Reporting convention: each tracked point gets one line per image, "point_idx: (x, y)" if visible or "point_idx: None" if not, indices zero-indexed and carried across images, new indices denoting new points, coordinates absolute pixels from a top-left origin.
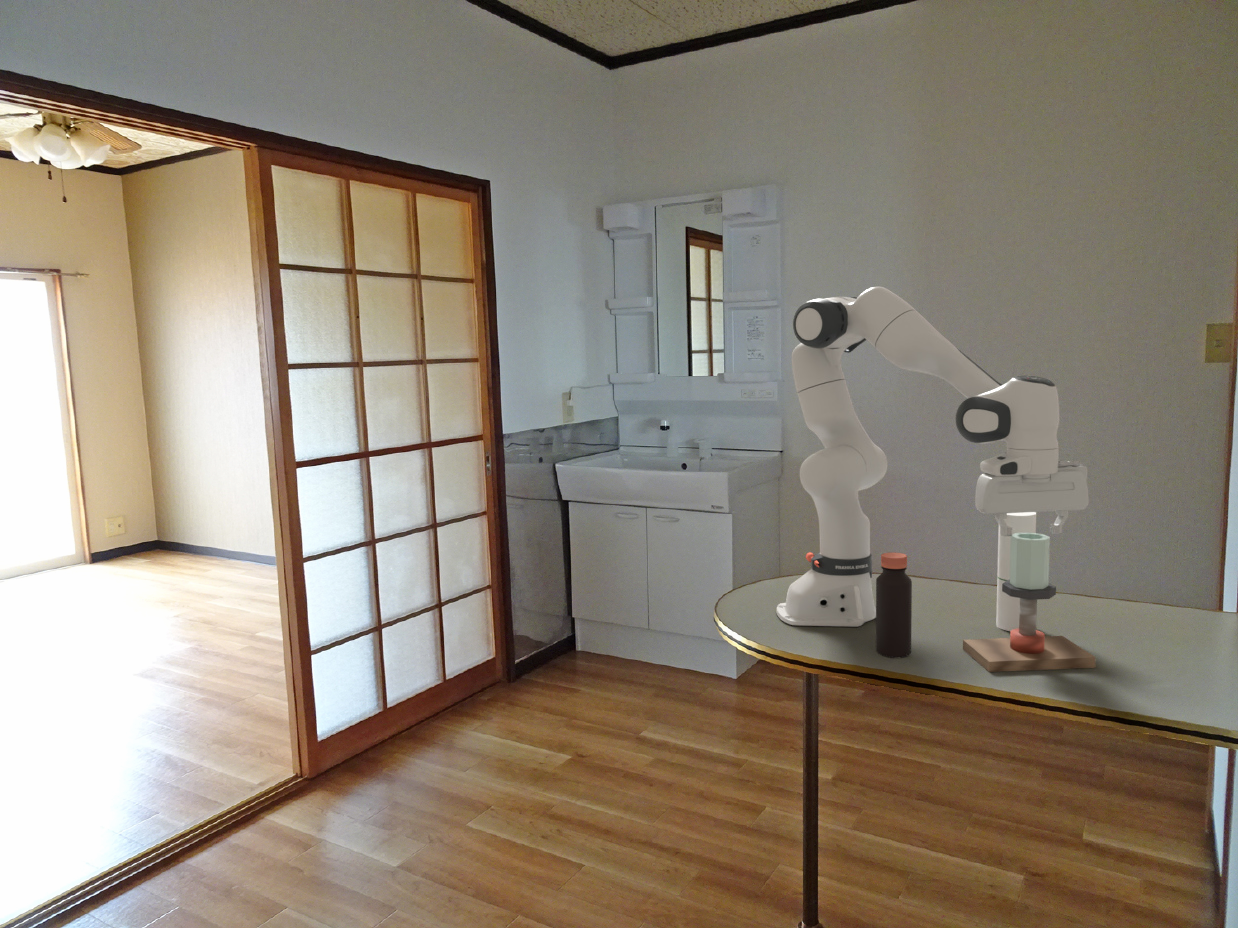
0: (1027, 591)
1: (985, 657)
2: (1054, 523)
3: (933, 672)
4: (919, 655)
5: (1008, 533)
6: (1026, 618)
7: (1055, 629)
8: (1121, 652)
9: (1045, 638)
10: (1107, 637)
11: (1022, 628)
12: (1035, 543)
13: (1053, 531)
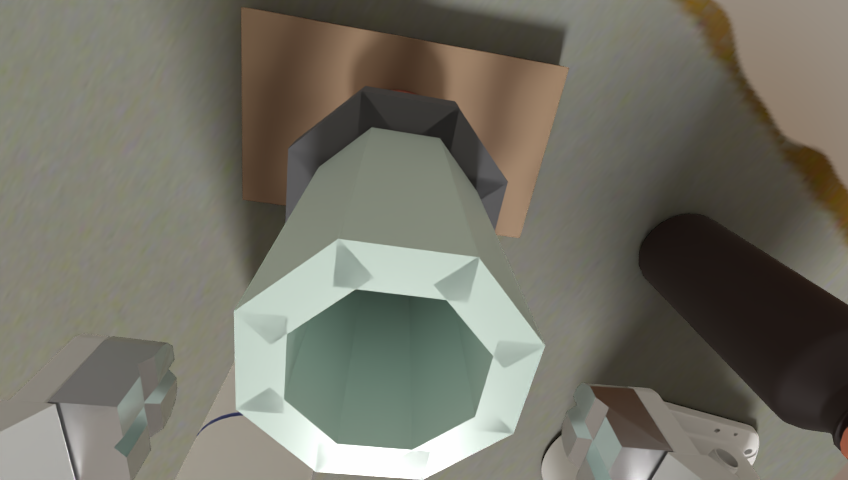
0: (465, 120)
1: (555, 101)
2: (76, 473)
3: (691, 103)
4: (637, 216)
5: (628, 399)
6: None
7: (207, 289)
8: (111, 98)
9: None
10: (97, 210)
11: None
12: (435, 236)
13: (160, 363)
